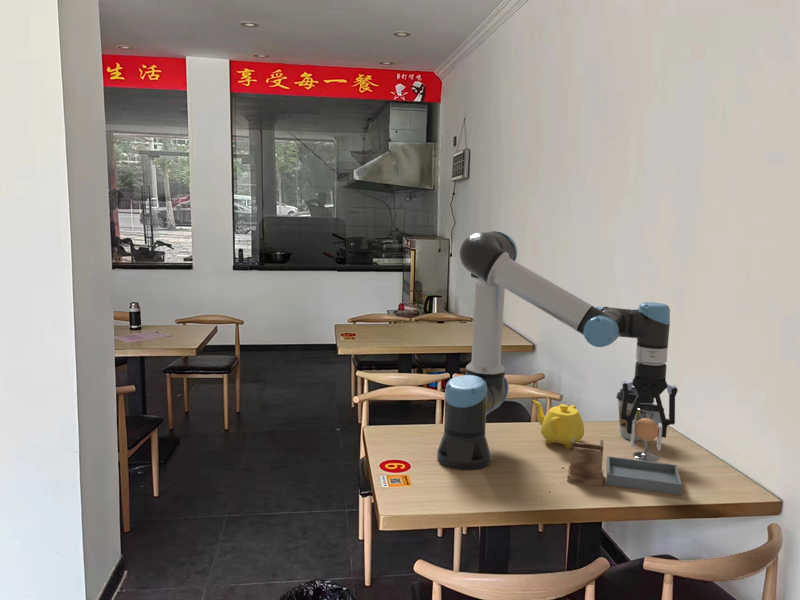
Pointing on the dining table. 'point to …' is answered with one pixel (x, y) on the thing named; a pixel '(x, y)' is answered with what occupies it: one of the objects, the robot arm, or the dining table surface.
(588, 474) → the stand
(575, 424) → the teapot
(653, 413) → the silver goblet
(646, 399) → the coffee cup
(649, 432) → the ball
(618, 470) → the tray
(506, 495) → the dining table surface
